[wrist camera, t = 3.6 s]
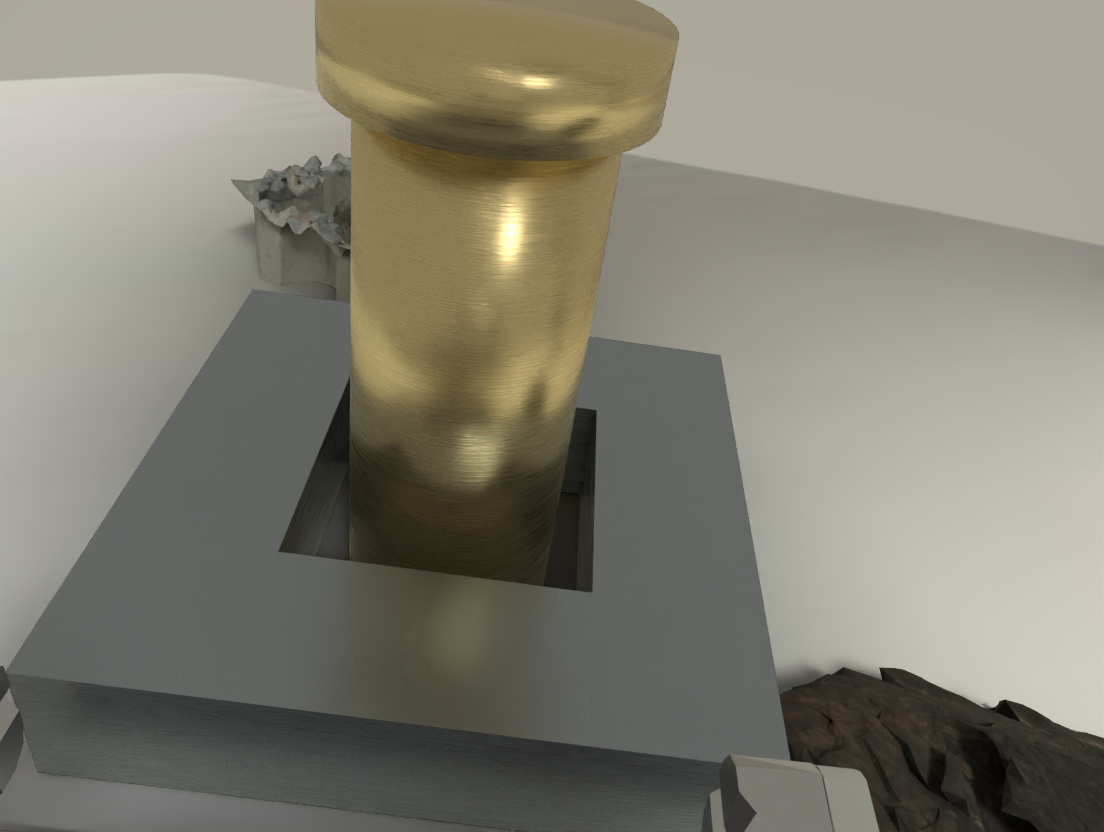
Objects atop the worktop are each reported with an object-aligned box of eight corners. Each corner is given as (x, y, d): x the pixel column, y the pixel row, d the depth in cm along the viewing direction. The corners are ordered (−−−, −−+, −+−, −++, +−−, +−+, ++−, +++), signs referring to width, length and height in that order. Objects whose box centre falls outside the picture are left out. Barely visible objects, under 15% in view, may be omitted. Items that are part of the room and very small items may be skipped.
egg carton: (567, 297, 37) (584, 199, 34) (458, 379, 31) (469, 270, 29) (353, 209, 40) (355, 115, 38) (221, 269, 35) (213, 163, 32)
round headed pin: (572, 498, 27) (670, -7, 19) (563, 675, 22) (691, 87, 14) (355, 469, 26) (360, -56, 19) (294, 641, 21) (266, 23, 14)
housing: (698, 434, 30) (720, 354, 28) (750, 859, 19) (792, 771, 17) (258, 373, 29) (252, 289, 28) (37, 771, 18) (4, 672, 16)
